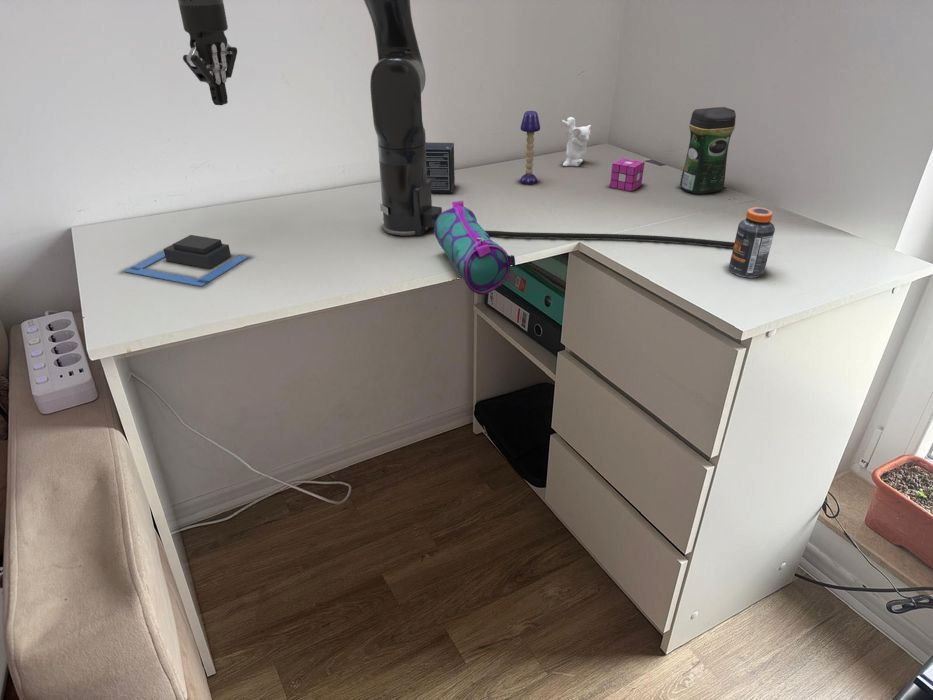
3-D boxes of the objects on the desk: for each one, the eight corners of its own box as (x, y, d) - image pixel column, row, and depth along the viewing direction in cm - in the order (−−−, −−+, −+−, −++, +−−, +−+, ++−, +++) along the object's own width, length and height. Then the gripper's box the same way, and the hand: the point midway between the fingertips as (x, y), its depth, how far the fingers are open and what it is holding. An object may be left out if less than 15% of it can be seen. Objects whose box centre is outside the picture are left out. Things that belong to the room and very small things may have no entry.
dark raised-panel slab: (231, 256, 125) (227, 239, 123) (210, 269, 120) (206, 251, 118) (188, 249, 128) (184, 232, 126) (166, 261, 123) (161, 243, 121)
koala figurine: (561, 168, 172) (565, 121, 166) (554, 161, 178) (557, 115, 171) (592, 167, 173) (597, 119, 167) (584, 159, 179) (589, 113, 172)
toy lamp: (538, 185, 160) (542, 114, 152) (518, 185, 160) (521, 114, 152) (536, 179, 164) (540, 109, 156) (517, 179, 164) (520, 109, 156)
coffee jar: (708, 182, 162) (723, 102, 152) (728, 192, 155) (745, 110, 146) (673, 185, 160) (686, 105, 150) (691, 196, 153) (706, 112, 143)
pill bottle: (723, 265, 121) (736, 205, 115) (754, 263, 121) (769, 204, 115) (737, 279, 116) (751, 217, 110) (769, 277, 116) (786, 216, 110)
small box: (455, 185, 160) (455, 141, 155) (452, 194, 155) (451, 148, 149) (412, 184, 161) (410, 140, 156) (407, 193, 156) (405, 147, 150)
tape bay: (248, 257, 124) (248, 256, 124) (201, 286, 114) (201, 285, 114) (175, 245, 129) (175, 244, 129) (124, 272, 119) (124, 271, 119)
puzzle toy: (619, 181, 163) (622, 158, 160) (641, 185, 160) (644, 161, 157) (609, 187, 159) (612, 163, 156) (631, 191, 156) (634, 167, 153)
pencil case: (514, 293, 111) (516, 239, 106) (464, 300, 109) (464, 246, 104) (476, 246, 128) (477, 198, 123) (432, 252, 126) (431, 203, 121)
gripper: (193, 5, 111) (215, 113, 120) (241, -1, 121) (258, 98, 130) (157, 4, 113) (181, 110, 122) (207, -2, 123) (226, 96, 132)
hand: (221, 104), depth 126 cm, fingers closed
